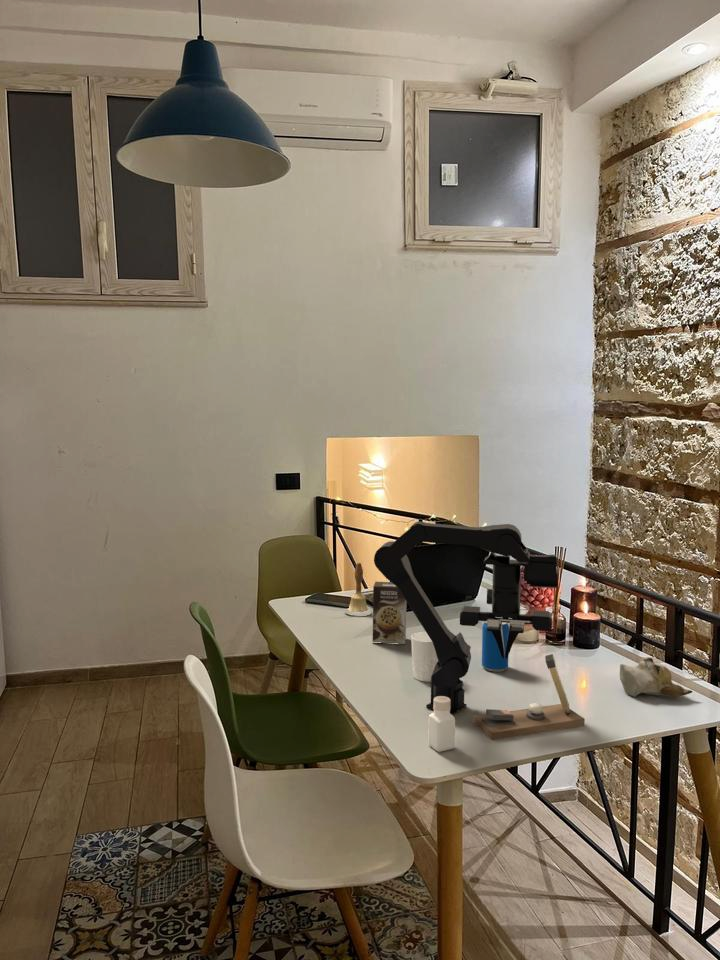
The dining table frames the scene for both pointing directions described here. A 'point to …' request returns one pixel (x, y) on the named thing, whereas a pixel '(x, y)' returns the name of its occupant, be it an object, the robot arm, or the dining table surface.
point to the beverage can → (493, 649)
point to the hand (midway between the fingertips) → (504, 658)
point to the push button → (535, 708)
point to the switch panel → (529, 722)
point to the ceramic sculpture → (649, 680)
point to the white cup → (423, 656)
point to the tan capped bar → (557, 683)
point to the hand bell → (358, 593)
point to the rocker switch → (499, 714)
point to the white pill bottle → (441, 725)
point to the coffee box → (388, 614)
